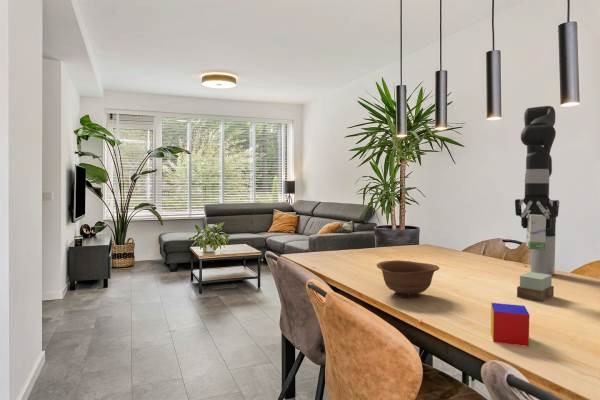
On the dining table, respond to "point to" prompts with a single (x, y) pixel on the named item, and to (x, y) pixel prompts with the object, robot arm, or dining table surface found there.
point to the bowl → (407, 277)
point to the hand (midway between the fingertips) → (535, 228)
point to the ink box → (536, 232)
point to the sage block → (536, 281)
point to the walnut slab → (535, 293)
